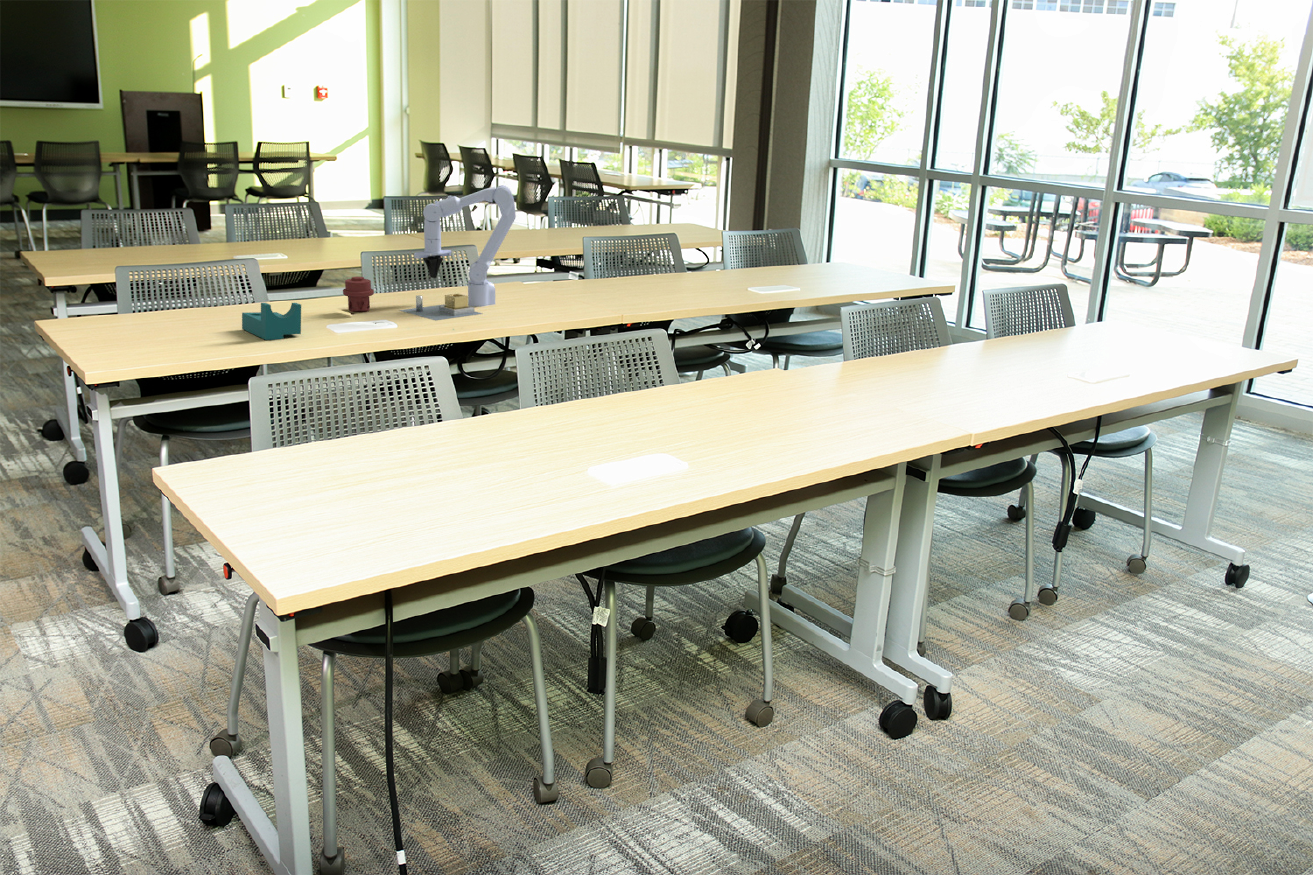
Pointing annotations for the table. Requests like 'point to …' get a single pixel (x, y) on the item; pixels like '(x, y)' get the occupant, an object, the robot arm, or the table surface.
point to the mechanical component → (358, 294)
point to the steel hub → (456, 310)
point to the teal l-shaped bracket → (273, 322)
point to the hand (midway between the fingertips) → (433, 277)
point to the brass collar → (456, 301)
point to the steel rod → (419, 303)
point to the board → (435, 313)
